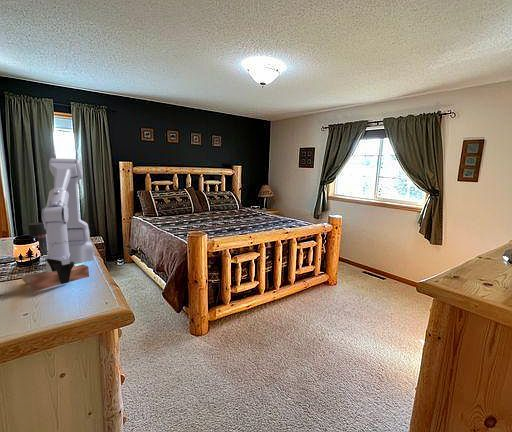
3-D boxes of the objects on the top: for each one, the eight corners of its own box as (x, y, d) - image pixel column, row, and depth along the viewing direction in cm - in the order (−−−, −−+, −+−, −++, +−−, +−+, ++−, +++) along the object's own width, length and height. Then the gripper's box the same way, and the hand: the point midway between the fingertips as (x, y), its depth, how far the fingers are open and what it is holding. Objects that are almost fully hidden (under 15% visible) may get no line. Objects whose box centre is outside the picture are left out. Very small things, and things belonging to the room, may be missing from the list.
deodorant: (50, 254, 130) (47, 223, 127) (37, 258, 124) (33, 225, 122) (42, 253, 131) (38, 222, 129) (28, 256, 126) (24, 224, 124)
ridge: (55, 269, 107) (54, 259, 106) (62, 275, 101) (61, 265, 100) (43, 272, 104) (42, 262, 103) (49, 278, 98) (48, 267, 97)
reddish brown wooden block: (84, 277, 103) (83, 264, 102) (89, 279, 101) (88, 266, 100) (31, 291, 90) (29, 276, 89) (35, 294, 88) (34, 279, 87)
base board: (74, 267, 112) (74, 265, 112) (83, 274, 105) (83, 271, 105) (20, 278, 100) (20, 276, 99) (27, 287, 93) (26, 284, 92)
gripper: (38, 240, 95) (41, 277, 97) (49, 247, 85) (53, 289, 87) (62, 236, 100) (65, 272, 102) (75, 243, 91) (78, 283, 93)
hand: (61, 280), depth 95 cm, fingers open, 7 cm apart
